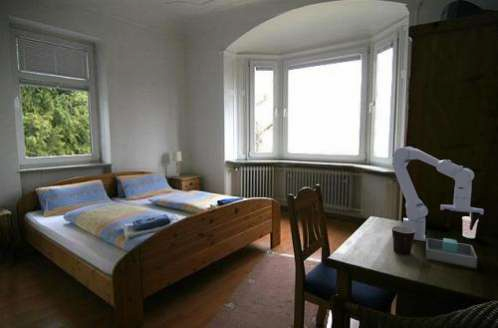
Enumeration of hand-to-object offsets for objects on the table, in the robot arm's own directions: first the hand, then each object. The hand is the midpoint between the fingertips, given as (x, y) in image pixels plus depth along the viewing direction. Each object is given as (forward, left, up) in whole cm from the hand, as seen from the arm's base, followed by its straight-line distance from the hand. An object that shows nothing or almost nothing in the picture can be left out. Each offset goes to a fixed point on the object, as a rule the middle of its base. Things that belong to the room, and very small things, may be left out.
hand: (459, 227), depth 121 cm
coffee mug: (-21, -17, -10) cm, 29 cm away
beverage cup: (+6, +20, -10) cm, 23 cm away
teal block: (-4, -11, -9) cm, 14 cm away
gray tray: (-4, -11, -9) cm, 15 cm away
